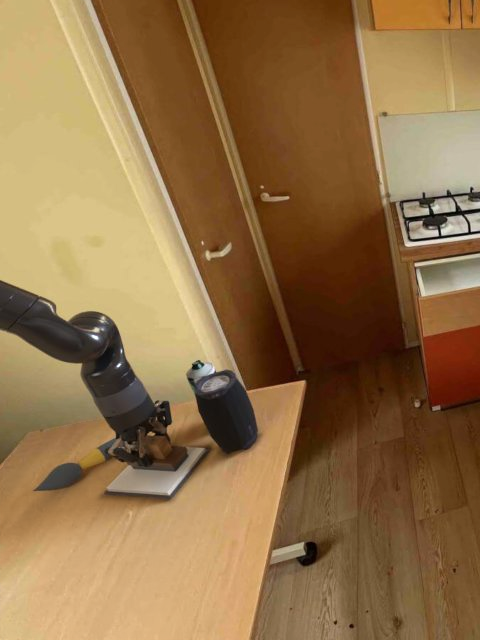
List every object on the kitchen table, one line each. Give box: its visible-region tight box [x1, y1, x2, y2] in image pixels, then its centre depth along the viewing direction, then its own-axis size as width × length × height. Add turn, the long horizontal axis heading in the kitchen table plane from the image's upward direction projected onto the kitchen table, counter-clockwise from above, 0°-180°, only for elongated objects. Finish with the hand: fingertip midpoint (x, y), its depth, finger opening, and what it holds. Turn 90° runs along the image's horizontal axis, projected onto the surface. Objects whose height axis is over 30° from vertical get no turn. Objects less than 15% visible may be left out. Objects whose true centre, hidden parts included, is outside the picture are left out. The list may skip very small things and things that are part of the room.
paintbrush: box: [32, 437, 126, 492], centre depth 96 cm, size 20×5×5 cm, turn 158°
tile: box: [103, 446, 211, 500], centre depth 95 cm, size 15×12×2 cm
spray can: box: [185, 359, 217, 395], centre depth 103 cm, size 6×6×20 cm
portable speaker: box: [194, 368, 259, 455], centre depth 98 cm, size 9×9×20 cm
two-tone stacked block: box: [126, 434, 188, 472], centre depth 94 cm, size 4×10×8 cm, turn 86°
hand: (156, 455), depth 94 cm, fingers closed on two-tone stacked block, 4 cm apart
